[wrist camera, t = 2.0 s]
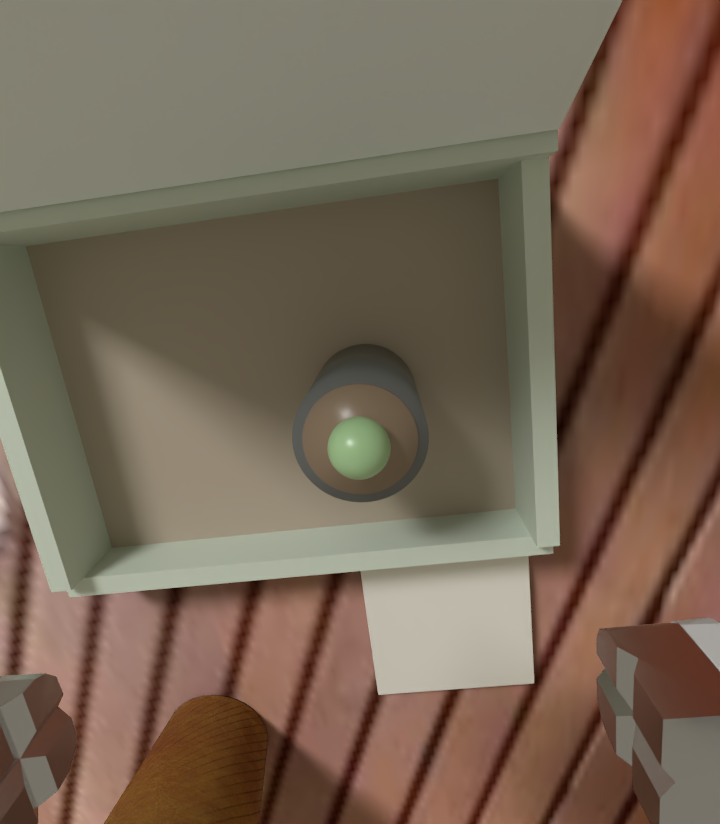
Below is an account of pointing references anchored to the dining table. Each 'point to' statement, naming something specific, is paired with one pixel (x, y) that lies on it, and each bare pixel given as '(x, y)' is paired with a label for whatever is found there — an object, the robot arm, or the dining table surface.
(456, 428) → the pale grey-green hollow box
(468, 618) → the stone tile
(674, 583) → the dining table surface
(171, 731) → the disposable coffee cup
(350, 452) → the nursery pot
